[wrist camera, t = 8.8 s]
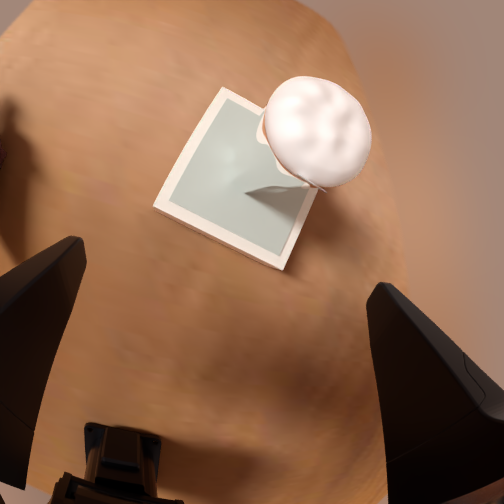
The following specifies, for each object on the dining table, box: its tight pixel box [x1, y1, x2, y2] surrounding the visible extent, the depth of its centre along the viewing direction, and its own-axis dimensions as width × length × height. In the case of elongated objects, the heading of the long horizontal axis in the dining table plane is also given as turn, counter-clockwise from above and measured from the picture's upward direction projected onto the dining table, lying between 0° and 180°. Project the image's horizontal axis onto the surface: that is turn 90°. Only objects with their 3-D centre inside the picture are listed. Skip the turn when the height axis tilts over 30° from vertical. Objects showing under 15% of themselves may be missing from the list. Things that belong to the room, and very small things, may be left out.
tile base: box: [153, 87, 319, 270], centre depth 19 cm, size 9×9×3 cm
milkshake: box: [230, 76, 372, 196], centre depth 13 cm, size 4×5×10 cm
